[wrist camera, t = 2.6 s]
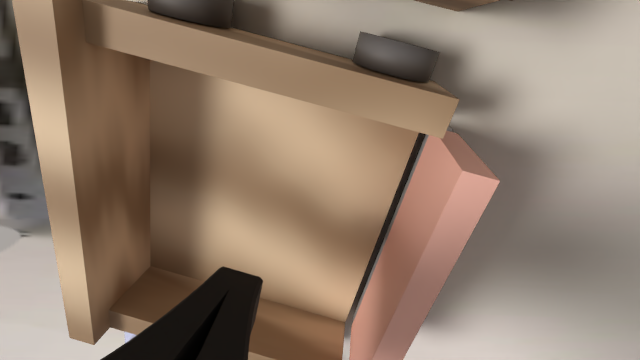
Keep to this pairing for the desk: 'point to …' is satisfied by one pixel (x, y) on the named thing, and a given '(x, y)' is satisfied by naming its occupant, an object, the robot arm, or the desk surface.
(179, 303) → the robot arm
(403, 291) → the tailgate
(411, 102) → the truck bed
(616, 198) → the desk surface
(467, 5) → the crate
